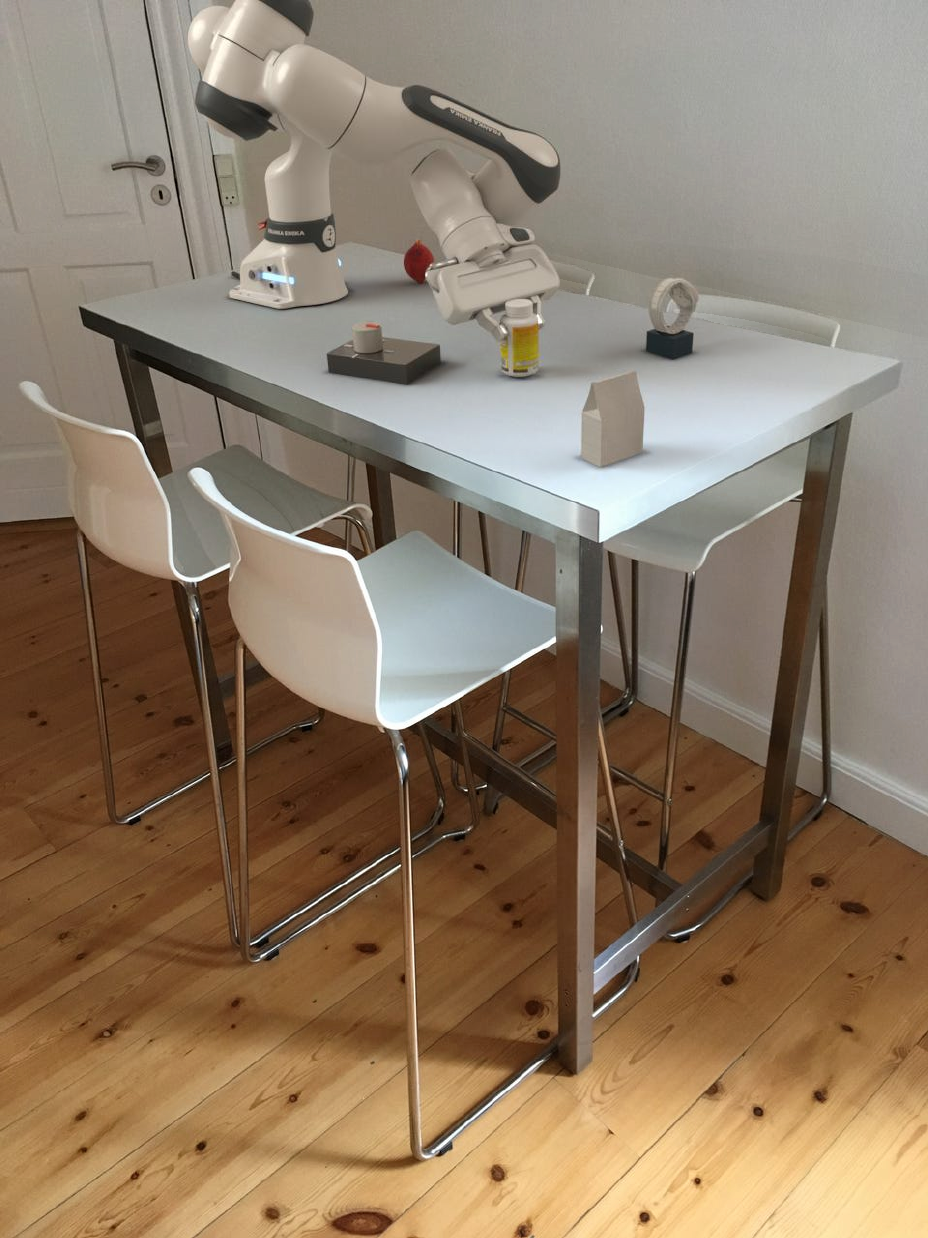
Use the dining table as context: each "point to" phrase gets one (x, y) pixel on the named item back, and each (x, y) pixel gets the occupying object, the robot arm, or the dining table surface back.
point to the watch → (673, 337)
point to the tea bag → (612, 420)
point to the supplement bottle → (520, 339)
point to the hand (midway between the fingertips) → (522, 333)
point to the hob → (386, 360)
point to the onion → (418, 261)
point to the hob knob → (367, 337)
